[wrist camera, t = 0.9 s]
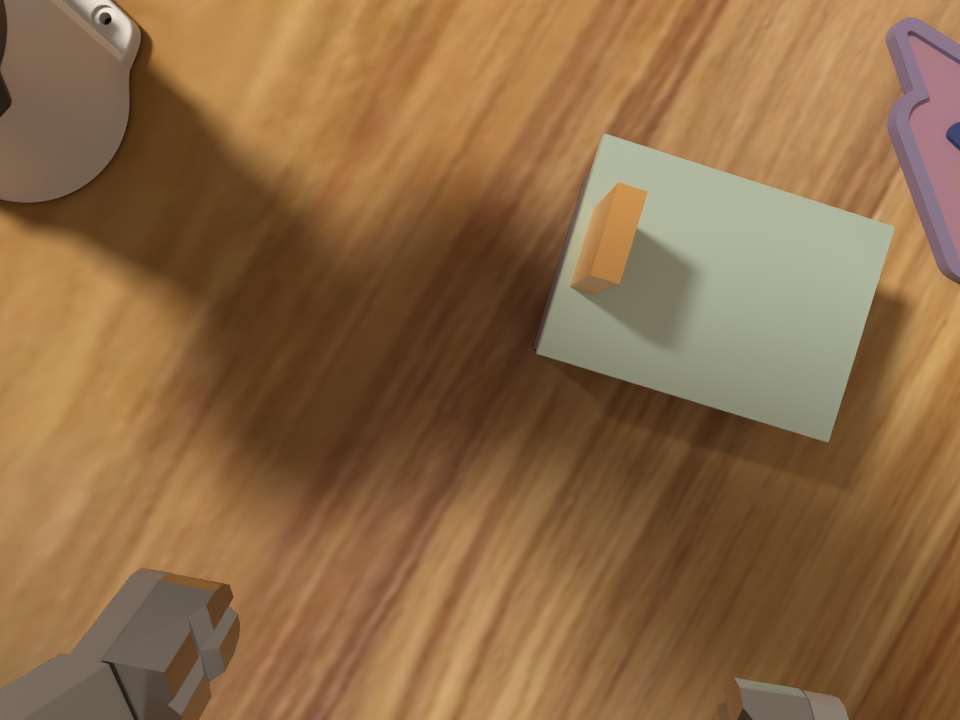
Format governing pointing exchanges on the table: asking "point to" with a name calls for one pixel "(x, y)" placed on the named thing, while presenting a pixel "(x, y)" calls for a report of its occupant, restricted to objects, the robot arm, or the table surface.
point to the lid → (714, 288)
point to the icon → (929, 132)
